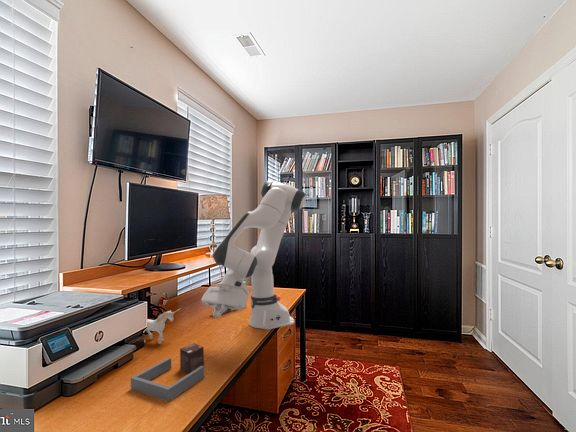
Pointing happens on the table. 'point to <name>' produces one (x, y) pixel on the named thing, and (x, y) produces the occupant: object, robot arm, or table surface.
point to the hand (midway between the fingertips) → (215, 316)
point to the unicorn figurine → (159, 324)
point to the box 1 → (161, 391)
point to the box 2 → (191, 357)
